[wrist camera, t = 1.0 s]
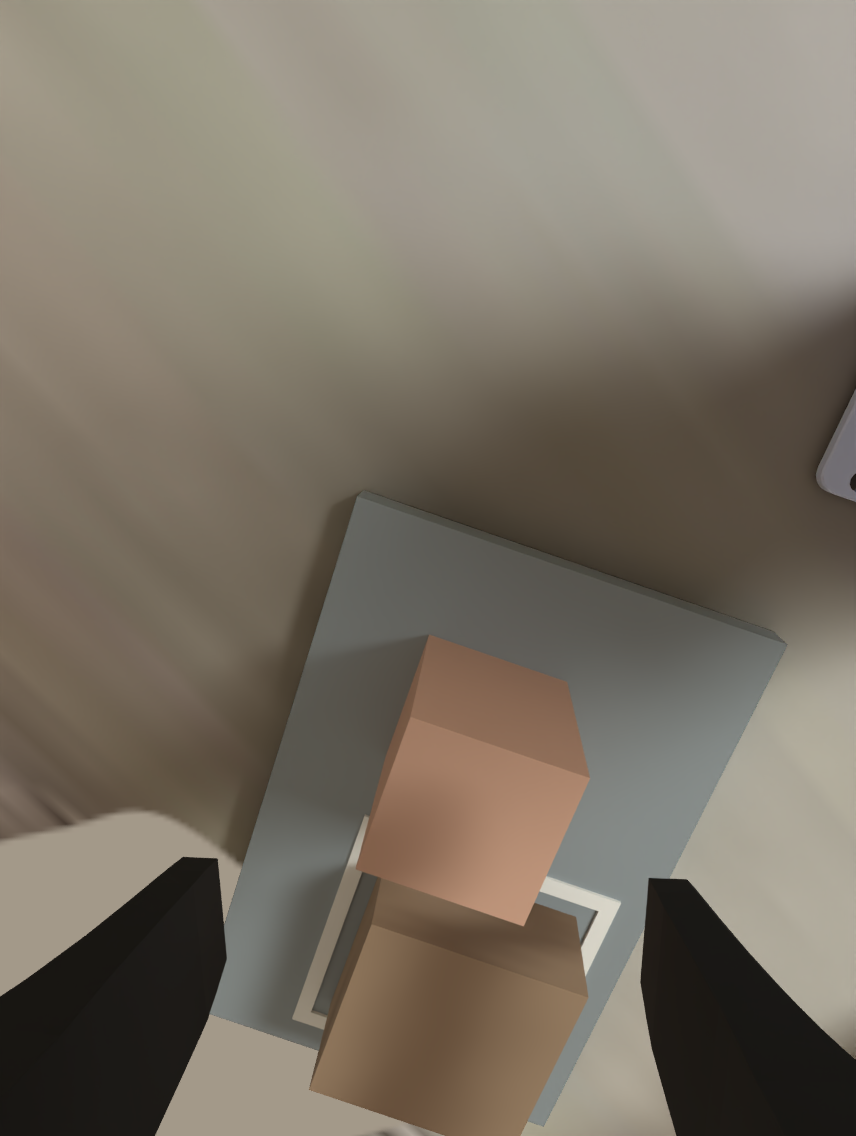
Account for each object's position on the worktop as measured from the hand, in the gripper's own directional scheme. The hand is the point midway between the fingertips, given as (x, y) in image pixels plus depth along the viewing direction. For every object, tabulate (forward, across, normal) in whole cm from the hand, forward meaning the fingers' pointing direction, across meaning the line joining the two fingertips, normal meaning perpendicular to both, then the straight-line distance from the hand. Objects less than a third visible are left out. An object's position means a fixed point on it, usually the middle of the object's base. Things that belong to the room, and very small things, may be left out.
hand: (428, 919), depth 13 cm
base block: (+9, 0, +9) cm, 13 cm away
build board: (+10, 0, +5) cm, 11 cm away
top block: (+9, -1, +1) cm, 9 cm away
